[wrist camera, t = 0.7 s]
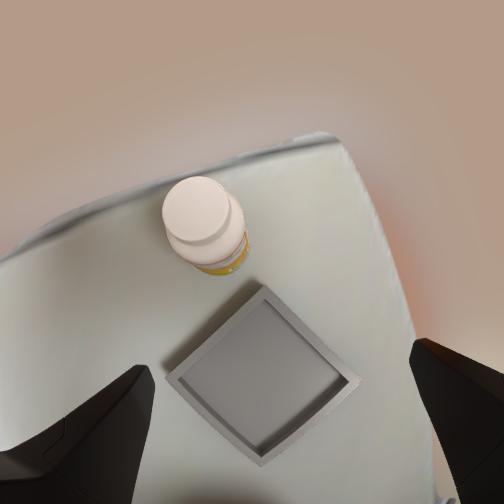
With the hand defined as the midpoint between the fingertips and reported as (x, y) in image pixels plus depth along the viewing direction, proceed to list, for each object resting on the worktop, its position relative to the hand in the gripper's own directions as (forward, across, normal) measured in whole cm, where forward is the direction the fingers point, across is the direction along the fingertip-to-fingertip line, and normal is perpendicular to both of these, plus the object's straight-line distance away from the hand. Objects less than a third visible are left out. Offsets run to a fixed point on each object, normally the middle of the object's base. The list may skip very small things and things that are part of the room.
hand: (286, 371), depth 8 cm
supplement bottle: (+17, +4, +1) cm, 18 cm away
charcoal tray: (+11, +1, +11) cm, 16 cm away
